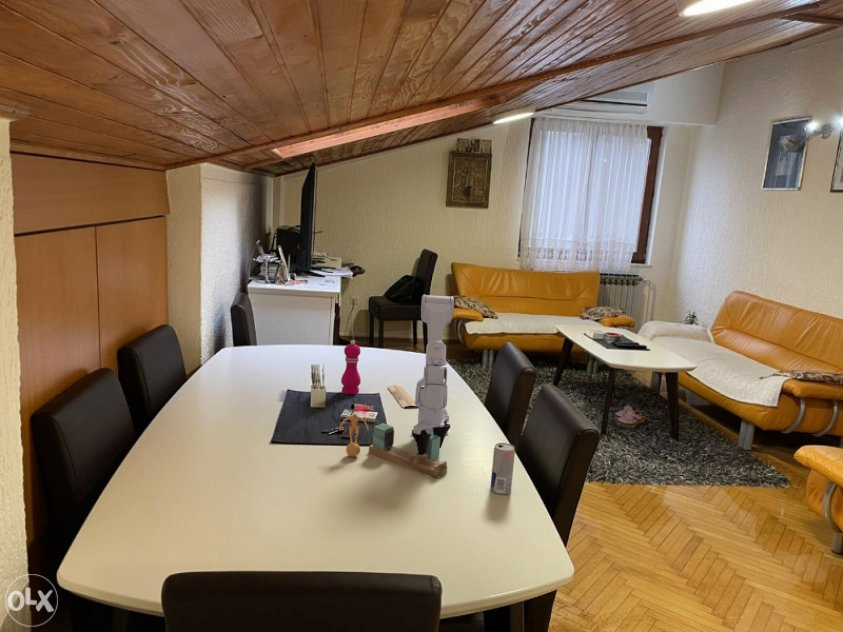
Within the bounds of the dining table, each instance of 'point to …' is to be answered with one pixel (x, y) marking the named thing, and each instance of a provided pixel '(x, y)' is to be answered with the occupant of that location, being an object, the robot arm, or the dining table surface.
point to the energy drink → (502, 468)
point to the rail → (403, 453)
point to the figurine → (354, 448)
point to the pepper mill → (351, 369)
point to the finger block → (433, 447)
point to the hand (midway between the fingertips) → (429, 451)
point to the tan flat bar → (401, 396)
